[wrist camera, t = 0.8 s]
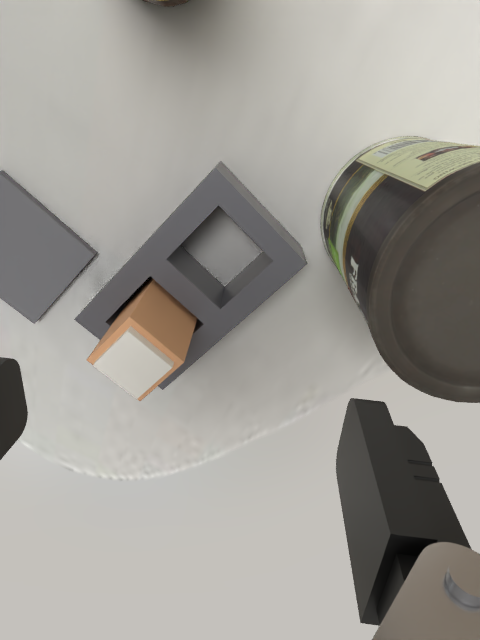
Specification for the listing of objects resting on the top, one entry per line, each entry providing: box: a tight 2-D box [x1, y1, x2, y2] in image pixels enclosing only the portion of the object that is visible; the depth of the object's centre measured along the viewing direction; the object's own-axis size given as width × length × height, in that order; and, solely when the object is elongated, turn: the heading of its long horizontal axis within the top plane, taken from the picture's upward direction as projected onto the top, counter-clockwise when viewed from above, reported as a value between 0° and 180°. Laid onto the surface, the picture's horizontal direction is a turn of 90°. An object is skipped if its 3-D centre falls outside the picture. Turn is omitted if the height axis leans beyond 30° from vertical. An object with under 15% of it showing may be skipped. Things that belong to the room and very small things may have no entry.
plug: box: [87, 277, 197, 401], centre depth 28 cm, size 4×4×10 cm
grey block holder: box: [74, 162, 307, 390], centre depth 29 cm, size 8×14×4 cm, turn 135°
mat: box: [0, 171, 97, 323], centre depth 30 cm, size 8×8×1 cm
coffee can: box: [321, 136, 480, 403], centre depth 22 cm, size 10×10×14 cm
